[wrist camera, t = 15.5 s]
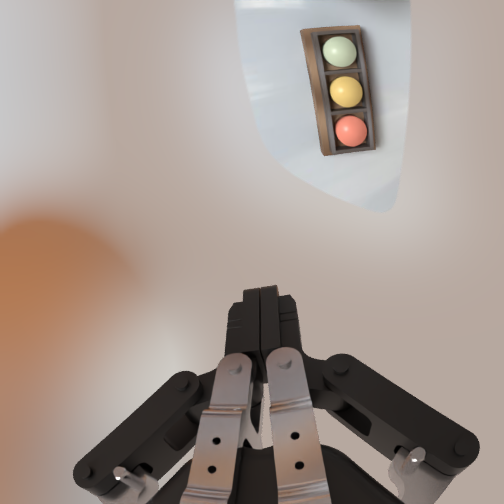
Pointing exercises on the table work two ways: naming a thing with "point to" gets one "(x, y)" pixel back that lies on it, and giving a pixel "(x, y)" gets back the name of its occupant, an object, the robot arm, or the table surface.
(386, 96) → the table surface
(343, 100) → the button ochre
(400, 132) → the table surface
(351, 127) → the button coral
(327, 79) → the toy traffic light
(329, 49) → the button sage
